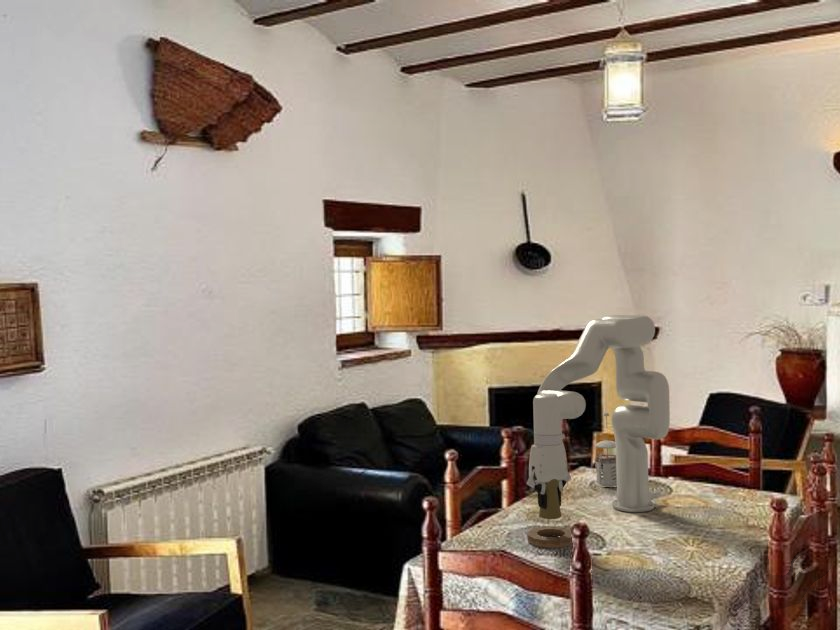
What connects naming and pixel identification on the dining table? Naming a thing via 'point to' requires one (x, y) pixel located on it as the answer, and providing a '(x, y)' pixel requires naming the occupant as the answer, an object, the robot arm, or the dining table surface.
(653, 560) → the dining table surface
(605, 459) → the french press
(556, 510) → the cork
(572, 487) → the dining table surface
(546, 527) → the bead ring
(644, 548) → the dining table surface
